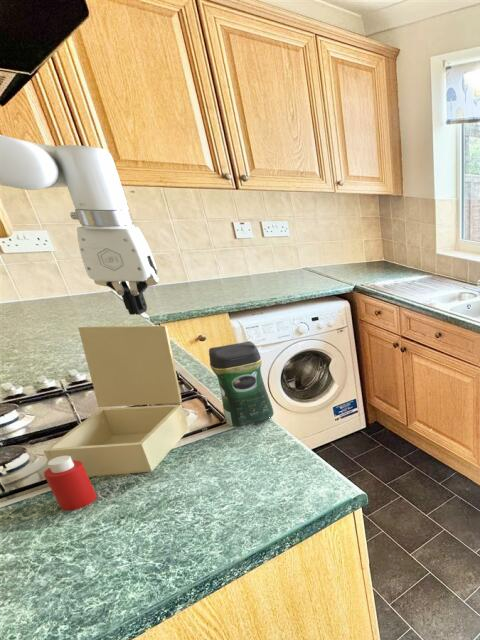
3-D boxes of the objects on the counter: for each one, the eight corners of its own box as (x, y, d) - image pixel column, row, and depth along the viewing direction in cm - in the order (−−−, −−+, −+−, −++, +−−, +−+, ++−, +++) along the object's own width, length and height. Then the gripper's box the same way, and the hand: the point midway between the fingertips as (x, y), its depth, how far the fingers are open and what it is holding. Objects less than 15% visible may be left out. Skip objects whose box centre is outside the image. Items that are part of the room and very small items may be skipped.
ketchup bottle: (55, 515, 68) (31, 469, 64) (74, 497, 72) (52, 453, 68) (87, 512, 69) (66, 467, 65) (104, 495, 73) (84, 451, 69)
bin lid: (164, 326, 85) (167, 325, 85) (77, 327, 81) (80, 326, 82) (180, 403, 89) (182, 402, 90) (98, 407, 86) (101, 405, 86)
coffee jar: (267, 406, 104) (252, 336, 96) (278, 419, 99) (262, 345, 91) (222, 418, 98) (201, 344, 90) (231, 432, 93) (210, 354, 85)
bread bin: (153, 474, 79) (141, 444, 76) (58, 482, 75) (43, 450, 72) (190, 431, 92) (181, 404, 90) (111, 436, 89) (100, 408, 86)
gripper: (44, 219, 75) (83, 318, 83) (141, 222, 78) (170, 317, 86) (73, 216, 81) (107, 308, 89) (161, 219, 85) (187, 307, 93)
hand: (138, 312), depth 88 cm, fingers closed
